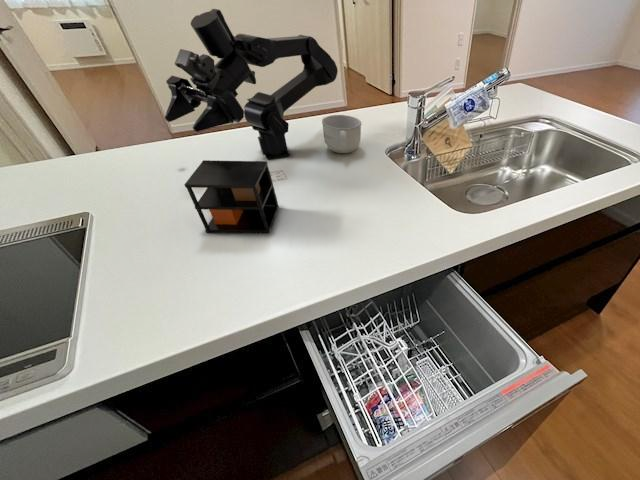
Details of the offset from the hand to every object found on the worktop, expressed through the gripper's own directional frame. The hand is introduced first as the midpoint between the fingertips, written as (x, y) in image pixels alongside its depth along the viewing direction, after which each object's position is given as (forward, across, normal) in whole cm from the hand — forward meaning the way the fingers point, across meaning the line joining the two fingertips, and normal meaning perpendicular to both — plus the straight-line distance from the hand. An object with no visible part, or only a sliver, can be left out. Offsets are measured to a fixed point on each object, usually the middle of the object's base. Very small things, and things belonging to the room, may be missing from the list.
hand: (180, 124), depth 74 cm
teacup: (-27, +15, +27) cm, 41 cm away
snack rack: (+10, +18, +12) cm, 24 cm away
